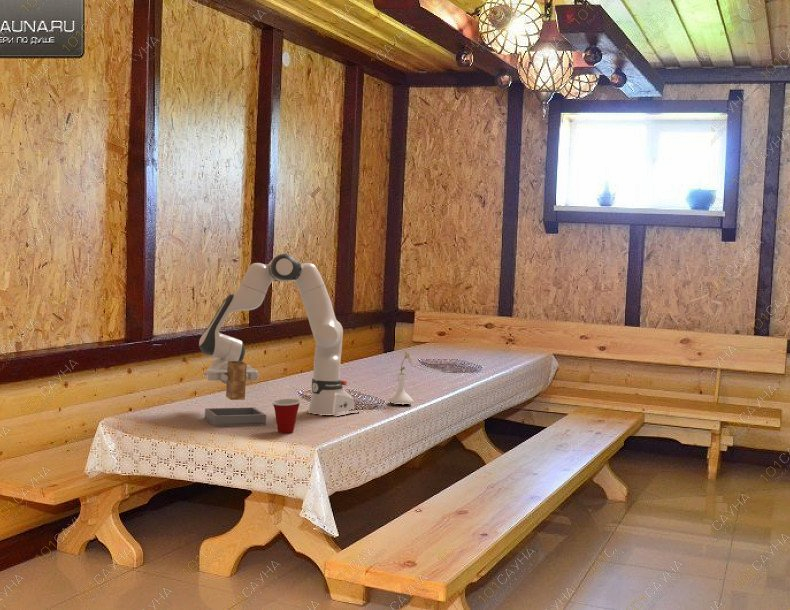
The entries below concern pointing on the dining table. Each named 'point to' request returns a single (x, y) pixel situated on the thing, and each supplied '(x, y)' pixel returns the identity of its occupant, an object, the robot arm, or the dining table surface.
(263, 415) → the gray tray
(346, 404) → the robot arm
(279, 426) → the plastic cup
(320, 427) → the dining table surface
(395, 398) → the flower in vase
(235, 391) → the wooden pencil holder
